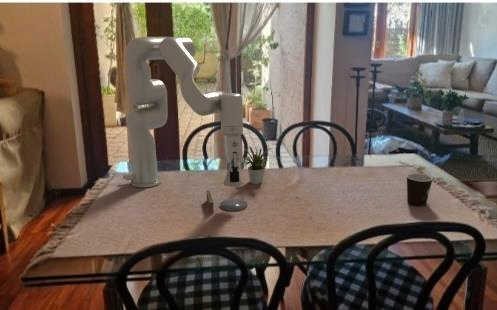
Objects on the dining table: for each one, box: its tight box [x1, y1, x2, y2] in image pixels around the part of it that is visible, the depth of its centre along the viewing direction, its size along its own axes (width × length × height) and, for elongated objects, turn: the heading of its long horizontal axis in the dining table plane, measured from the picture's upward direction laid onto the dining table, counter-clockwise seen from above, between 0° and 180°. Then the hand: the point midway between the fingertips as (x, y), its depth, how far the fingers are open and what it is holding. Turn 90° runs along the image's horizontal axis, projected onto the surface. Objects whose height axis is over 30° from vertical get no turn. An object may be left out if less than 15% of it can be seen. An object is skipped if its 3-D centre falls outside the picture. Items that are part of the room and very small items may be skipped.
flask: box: [223, 161, 244, 188], centre depth 151 cm, size 7×7×10 cm
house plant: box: [242, 144, 272, 185], centre depth 176 cm, size 14×14×16 cm
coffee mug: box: [406, 172, 433, 208], centre depth 154 cm, size 12×9×10 cm
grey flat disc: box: [219, 198, 248, 212], centre depth 154 cm, size 10×10×1 cm
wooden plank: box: [206, 189, 215, 214], centre depth 153 cm, size 1×12×4 cm, turn 11°
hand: (233, 178), depth 151 cm, fingers closed on flask, 4 cm apart
